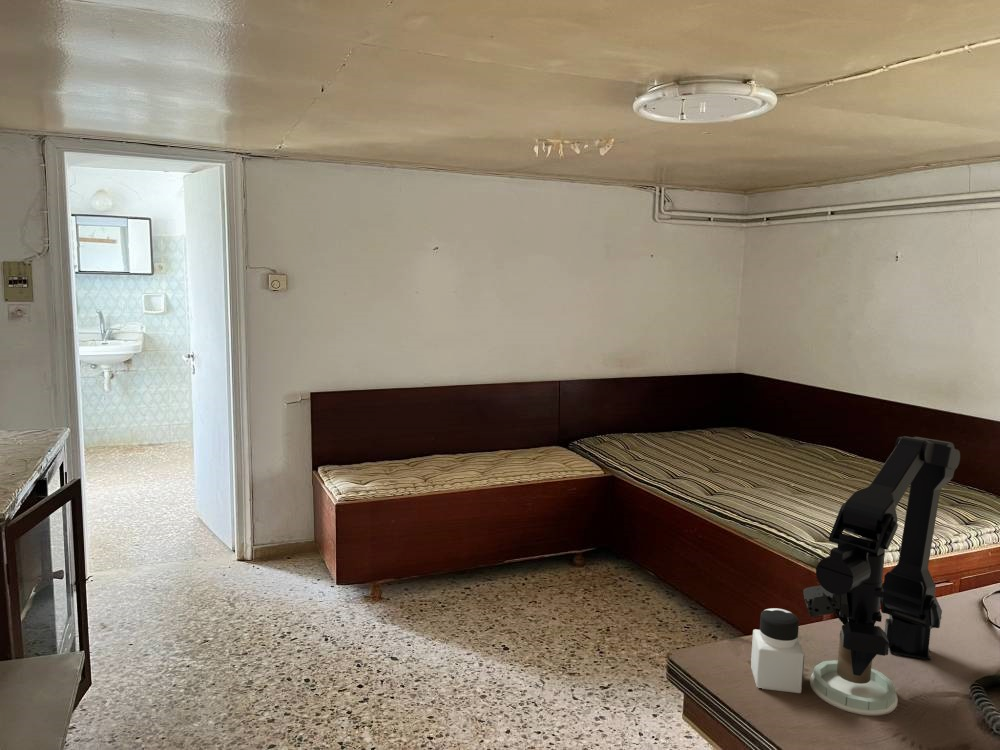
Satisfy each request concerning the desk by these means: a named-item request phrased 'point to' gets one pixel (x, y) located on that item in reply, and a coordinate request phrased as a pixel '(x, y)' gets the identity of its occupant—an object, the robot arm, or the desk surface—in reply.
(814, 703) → the desk surface
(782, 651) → the medicine bottle
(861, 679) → the brown domed cylinder
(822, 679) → the ring dish
